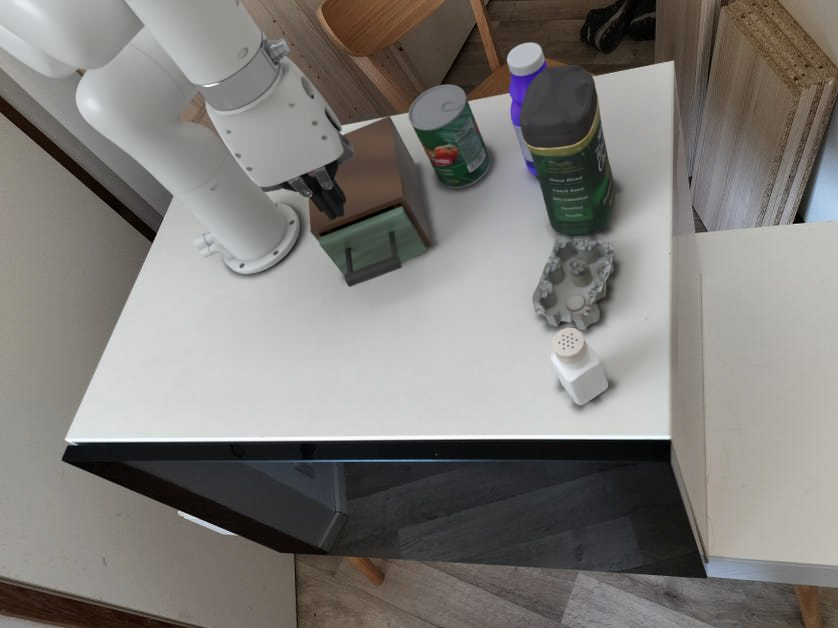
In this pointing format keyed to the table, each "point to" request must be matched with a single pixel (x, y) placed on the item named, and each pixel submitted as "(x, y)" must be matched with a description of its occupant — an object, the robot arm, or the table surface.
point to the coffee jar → (569, 149)
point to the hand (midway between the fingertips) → (337, 209)
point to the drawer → (373, 244)
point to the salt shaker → (577, 366)
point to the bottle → (523, 86)
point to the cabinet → (376, 180)
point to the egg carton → (574, 281)
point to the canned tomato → (450, 136)
